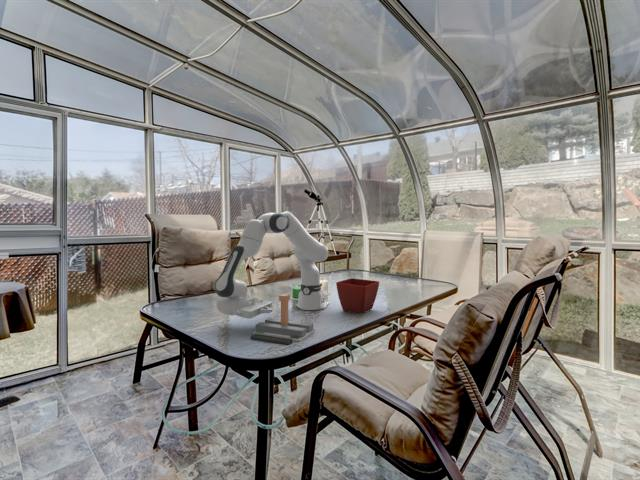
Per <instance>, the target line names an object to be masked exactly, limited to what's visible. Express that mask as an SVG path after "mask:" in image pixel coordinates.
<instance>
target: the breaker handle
mask: <svg viewBox="0 0 640 480" xmlns="http://www.w3.org/2000/svg"><path fill="white" fill-rule="evenodd" d="M290 300H291V294H289V293H282V294H280V295H278V301H280V319H281V325H285V326H288V320H289V301H290Z"/></svg>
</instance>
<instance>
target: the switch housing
mask: <svg viewBox="0 0 640 480" xmlns="http://www.w3.org/2000/svg"><path fill="white" fill-rule="evenodd" d="M315 331H316V328H314V323H312V322H304V321H296V320H289V319H288V326H285V325H281V318H272V317H268V318H266V319H264V321H263V322H262V321H260V322H258V323H256V324H255V331H253V332H252V335H254V334H261V335H268V336H275V337H281V338H288V339H292V340H293V341H295V342H301V341H303V340H305V339H306V338H307V337H309V336H310V335H311V334H312V333H314V332H315Z"/></svg>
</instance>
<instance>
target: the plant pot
mask: <svg viewBox="0 0 640 480" xmlns="http://www.w3.org/2000/svg"><path fill="white" fill-rule="evenodd" d="M335 283H336V290H337V295H338V299H339V302H340V305H341V309H342V311H344V312H348V311H349V313H353V312H356V313H355V314H359V313H363V314H365V313H367V312H366V311H368V310H370V309H372V310H373V307H374V305H375V301H376V298H377V294H378V291H379V286H380V281H379V280H378V281H377V280H370V279H369V280H368V279H360V278H352V277H351V278H347V279H344V280H340V281H336V282H335ZM370 311H371V310H370ZM364 312H365V313H364ZM368 312H369V311H368Z"/></svg>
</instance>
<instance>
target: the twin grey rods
mask: <svg viewBox="0 0 640 480" xmlns="http://www.w3.org/2000/svg"><path fill="white" fill-rule="evenodd" d="M250 339H251V340H255V341H256V340H257V341H264V342H268V343H269V342H271V343H276V344H282V345H290V344H292V343H293V341H294V340H292V339H288V338H281V337H275V336H268V335H261V334H251V335H250Z"/></svg>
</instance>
